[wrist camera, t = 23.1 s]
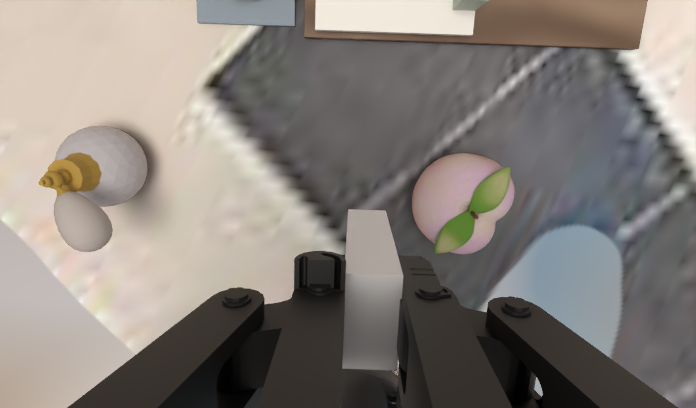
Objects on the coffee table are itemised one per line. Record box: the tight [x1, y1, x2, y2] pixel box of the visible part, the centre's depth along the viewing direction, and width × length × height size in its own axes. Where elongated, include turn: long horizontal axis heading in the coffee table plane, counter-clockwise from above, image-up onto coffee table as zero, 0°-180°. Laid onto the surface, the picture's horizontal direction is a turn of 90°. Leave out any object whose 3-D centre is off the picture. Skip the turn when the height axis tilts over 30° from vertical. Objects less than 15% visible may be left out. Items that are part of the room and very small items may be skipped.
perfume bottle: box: [39, 126, 147, 252], centre depth 38 cm, size 8×10×12 cm
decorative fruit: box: [412, 153, 515, 254], centre depth 39 cm, size 9×8×10 cm
